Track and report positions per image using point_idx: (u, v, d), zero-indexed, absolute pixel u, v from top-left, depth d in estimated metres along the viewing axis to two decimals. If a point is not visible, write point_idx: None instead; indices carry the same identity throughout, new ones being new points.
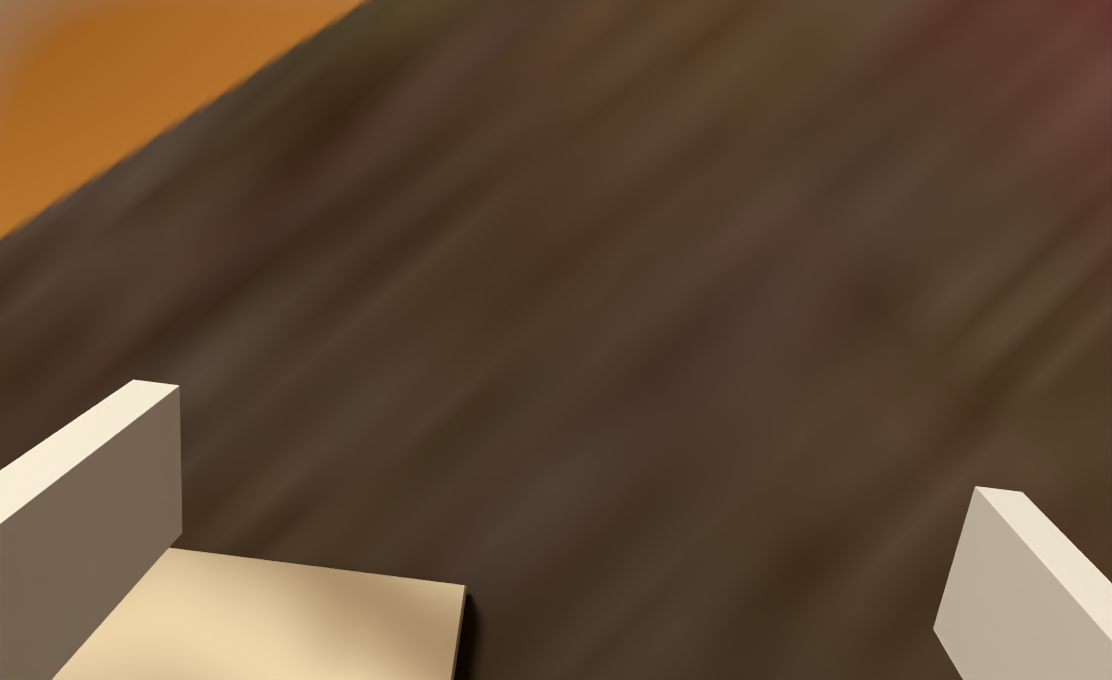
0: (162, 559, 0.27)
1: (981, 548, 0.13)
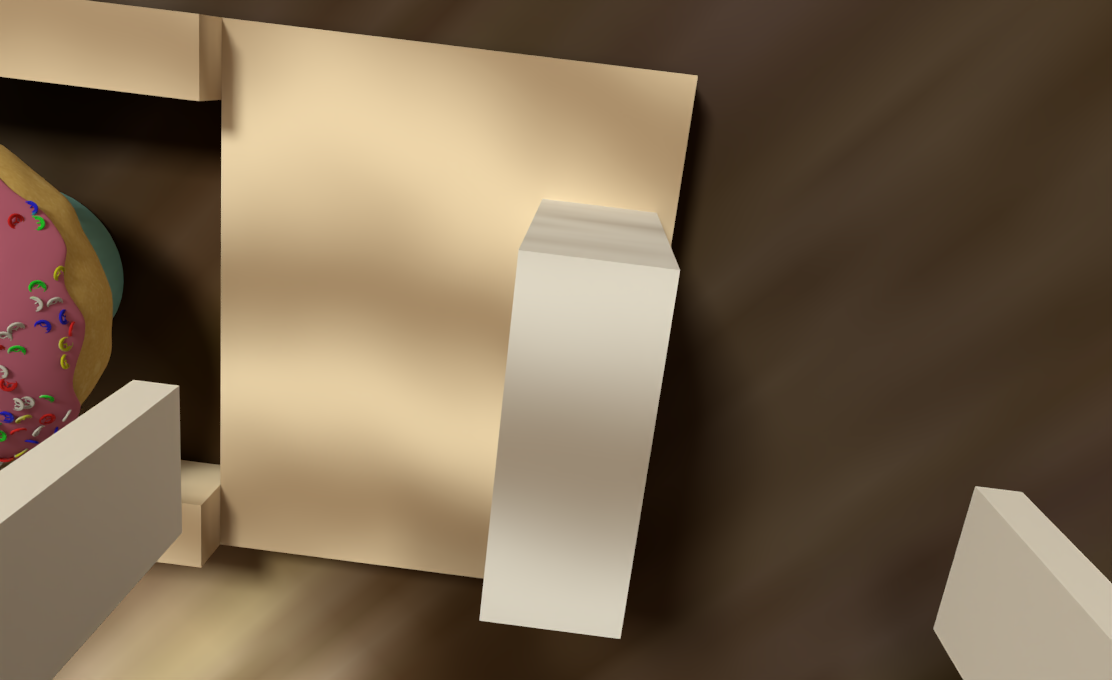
0: (321, 45, 0.22)
1: (981, 548, 0.13)
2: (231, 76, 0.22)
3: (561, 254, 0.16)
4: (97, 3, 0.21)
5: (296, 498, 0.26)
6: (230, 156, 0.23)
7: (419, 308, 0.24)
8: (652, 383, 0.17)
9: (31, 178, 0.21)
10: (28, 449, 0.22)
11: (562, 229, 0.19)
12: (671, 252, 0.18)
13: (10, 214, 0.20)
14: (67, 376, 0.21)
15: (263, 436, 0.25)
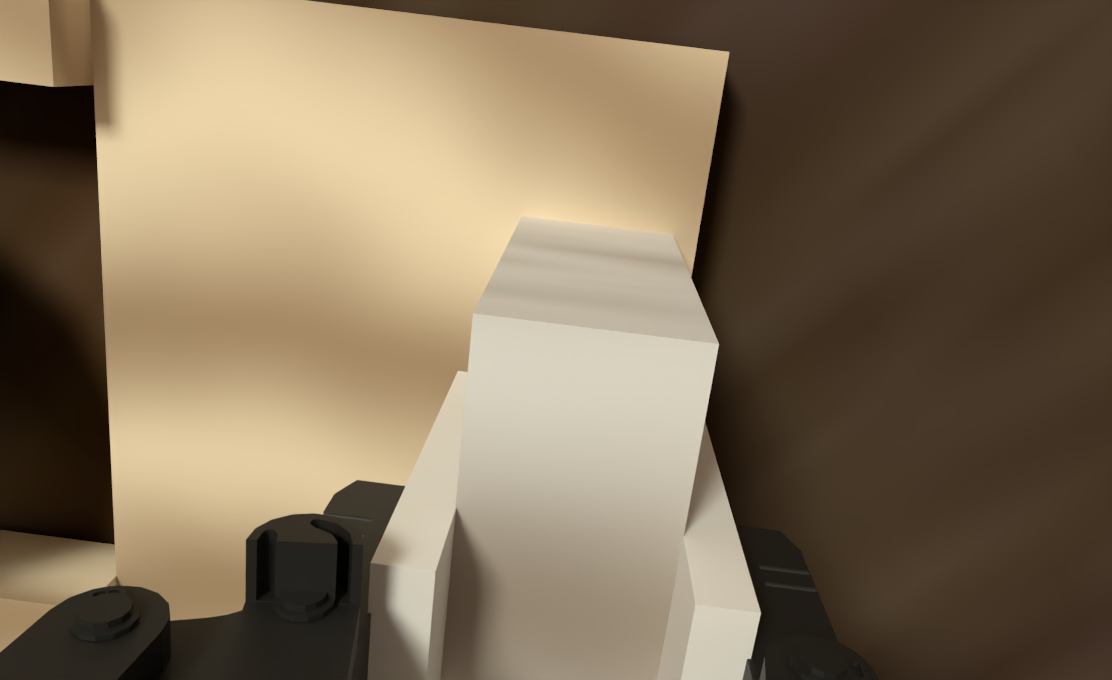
0: (222, 11, 0.16)
1: None
2: (105, 53, 0.17)
3: (538, 319, 0.11)
4: None
5: (213, 592, 0.20)
6: (108, 160, 0.17)
7: (363, 358, 0.18)
8: (675, 507, 0.11)
9: None
10: None
11: (544, 269, 0.13)
12: (701, 307, 0.12)
13: None
14: None
15: (168, 517, 0.20)
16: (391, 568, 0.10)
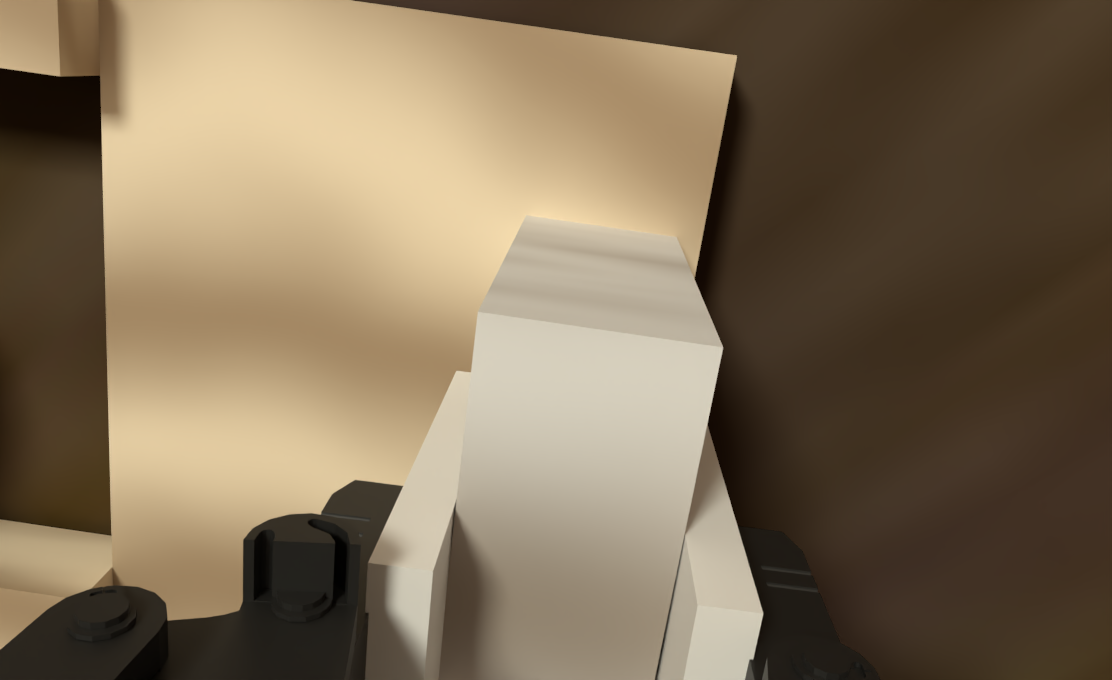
0: (231, 4, 0.16)
1: None
2: (113, 44, 0.17)
3: (543, 319, 0.11)
4: None
5: (209, 586, 0.20)
6: (113, 151, 0.17)
7: (363, 354, 0.18)
8: (675, 510, 0.11)
9: None
10: None
11: (548, 269, 0.13)
12: (705, 310, 0.12)
13: None
14: None
15: (165, 509, 0.20)
16: (388, 568, 0.10)
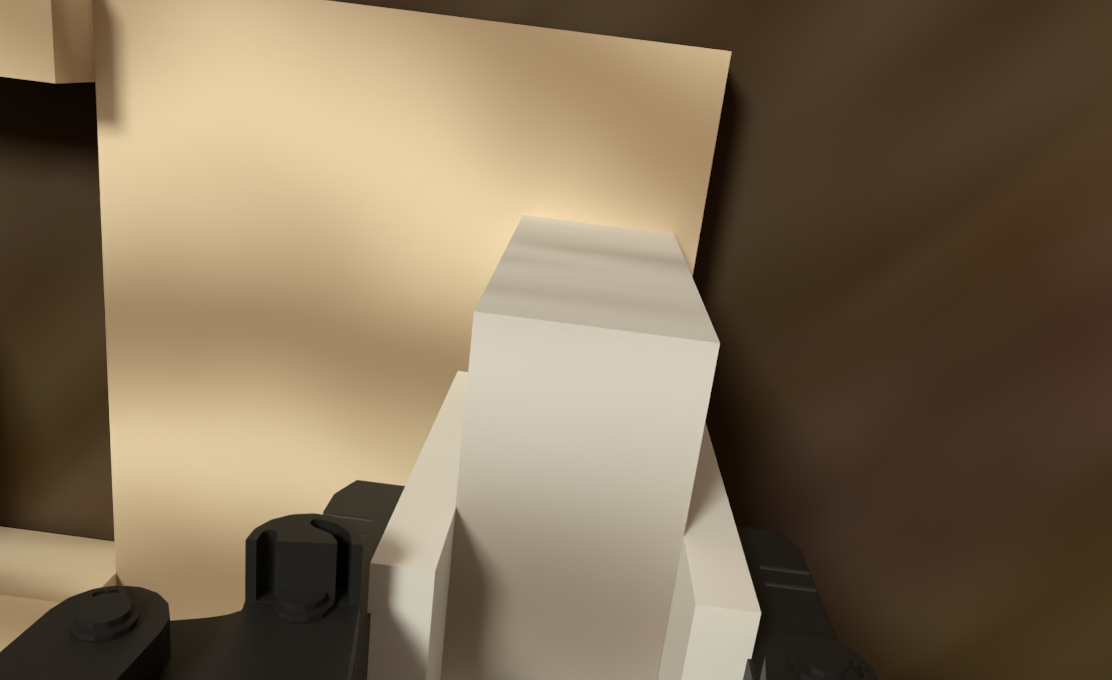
0: (225, 8, 0.16)
1: None
2: (107, 51, 0.17)
3: (539, 317, 0.11)
4: None
5: (212, 590, 0.20)
6: (109, 156, 0.17)
7: (363, 356, 0.18)
8: (675, 506, 0.11)
9: None
10: None
11: (545, 267, 0.13)
12: (702, 306, 0.12)
13: None
14: None
15: (168, 514, 0.20)
16: (391, 568, 0.10)
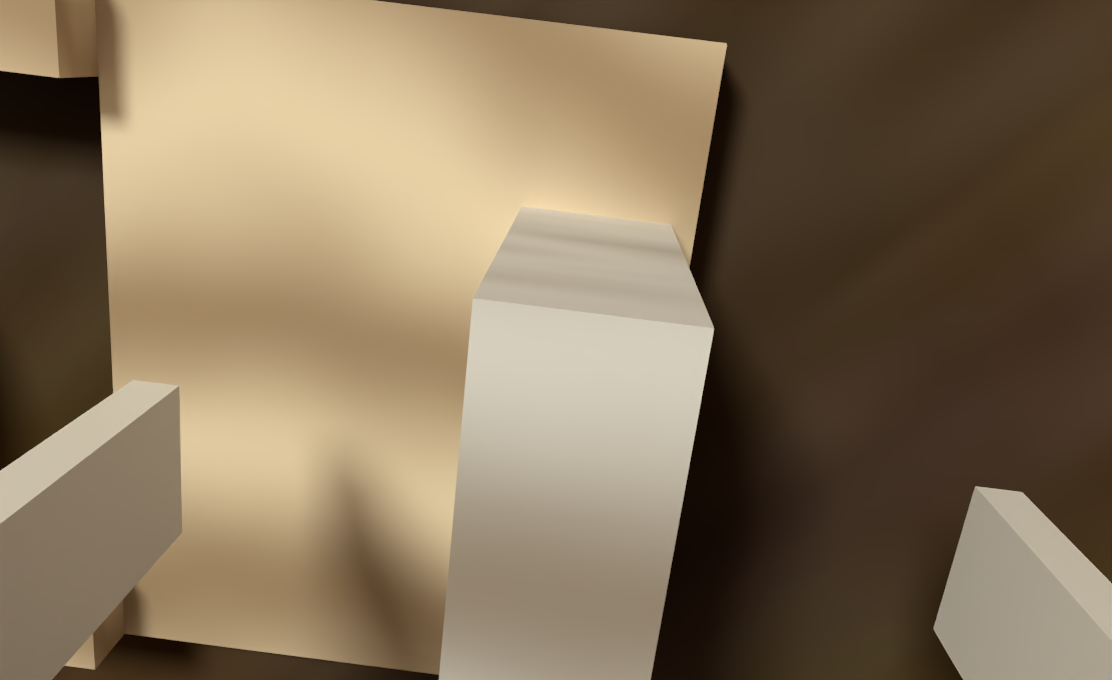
0: (226, 3, 0.17)
1: (981, 548, 0.13)
2: (110, 45, 0.17)
3: (537, 304, 0.11)
4: None
5: (217, 579, 0.20)
6: (113, 151, 0.17)
7: (364, 347, 0.19)
8: (671, 489, 0.11)
9: None
10: None
11: (543, 256, 0.13)
12: (697, 293, 0.12)
13: None
14: None
15: None
16: None
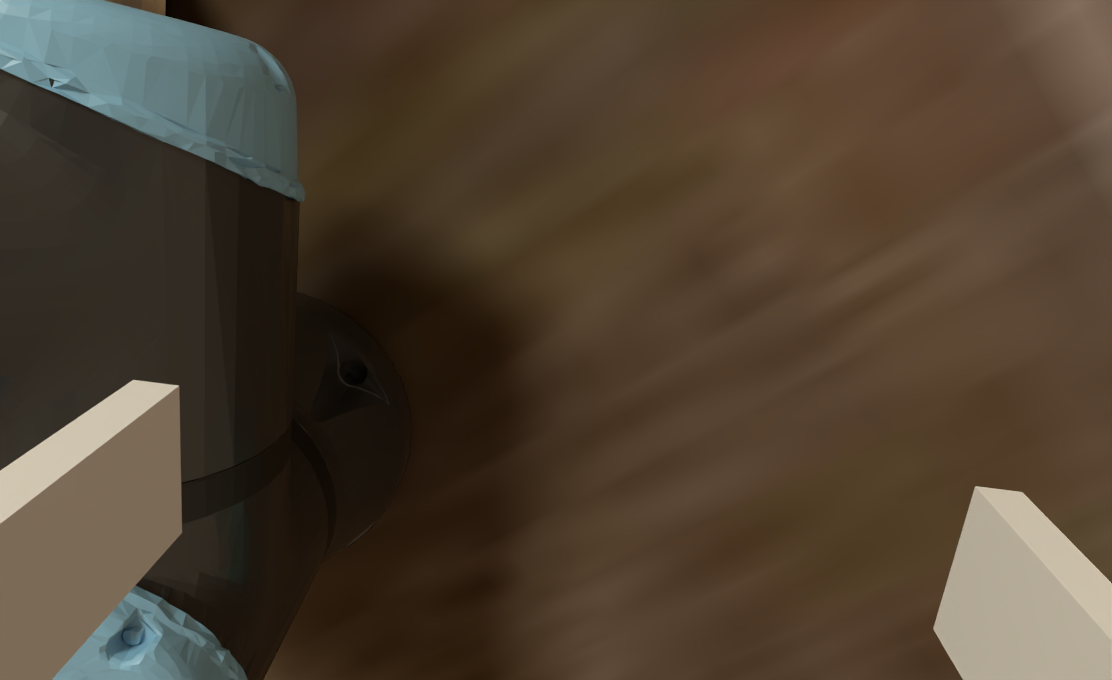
0: None
1: (981, 548, 0.13)
2: None
3: None
4: None
5: None
6: None
7: None
8: None
9: None
10: None
11: None
12: None
13: None
14: None
15: None
16: None
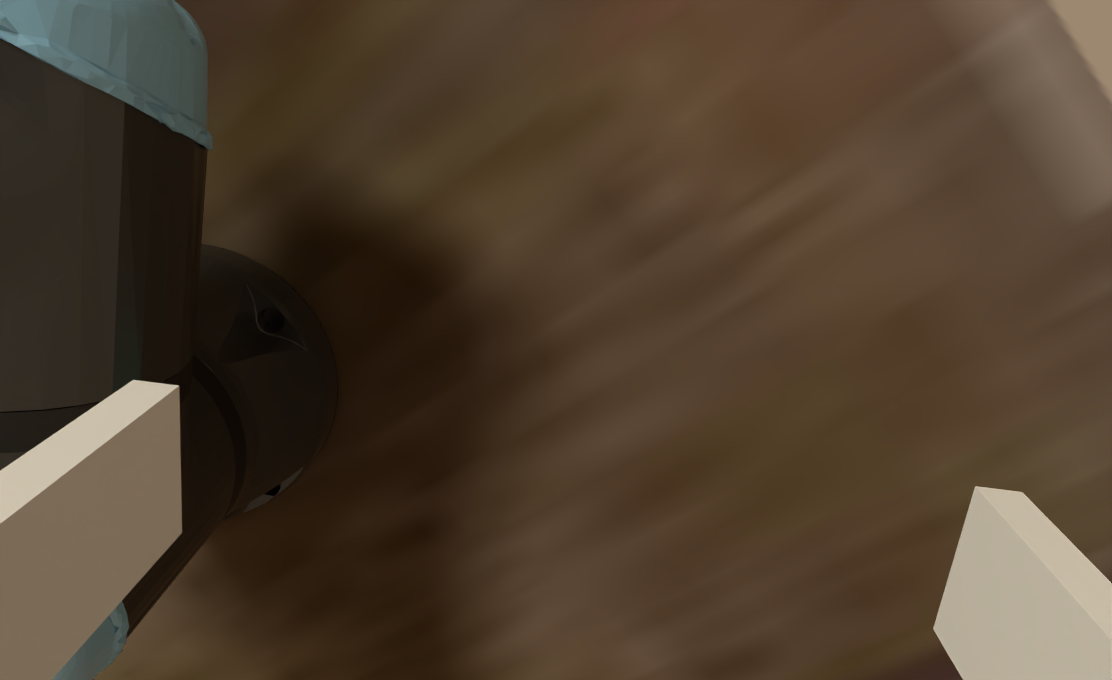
0: None
1: (981, 548, 0.13)
2: None
3: None
4: None
5: None
6: None
7: None
8: None
9: None
10: None
11: None
12: None
13: None
14: None
15: None
16: None
